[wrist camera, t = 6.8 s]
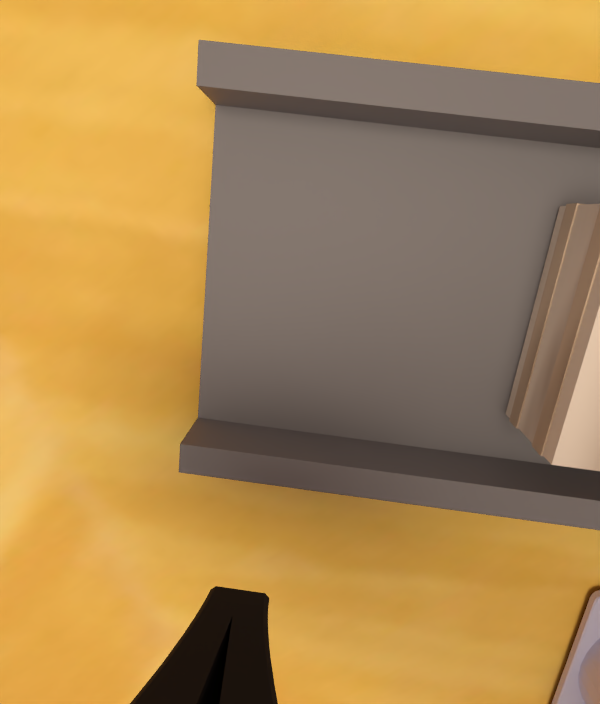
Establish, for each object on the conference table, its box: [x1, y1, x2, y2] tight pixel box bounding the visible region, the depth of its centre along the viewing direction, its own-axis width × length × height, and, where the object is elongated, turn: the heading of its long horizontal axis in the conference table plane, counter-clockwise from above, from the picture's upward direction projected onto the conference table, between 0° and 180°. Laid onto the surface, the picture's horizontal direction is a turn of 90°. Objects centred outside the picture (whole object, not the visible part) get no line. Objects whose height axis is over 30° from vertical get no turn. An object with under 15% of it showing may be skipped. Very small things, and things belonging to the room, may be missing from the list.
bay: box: [179, 40, 600, 530], centre depth 17 cm, size 21×14×3 cm
